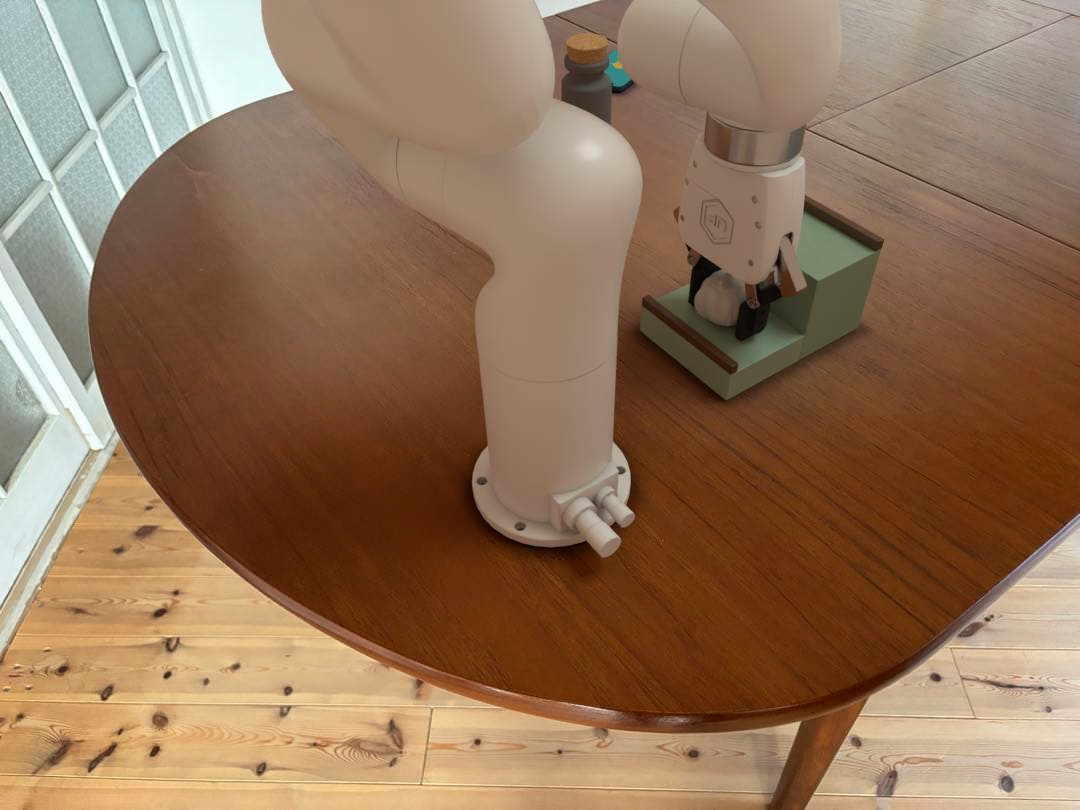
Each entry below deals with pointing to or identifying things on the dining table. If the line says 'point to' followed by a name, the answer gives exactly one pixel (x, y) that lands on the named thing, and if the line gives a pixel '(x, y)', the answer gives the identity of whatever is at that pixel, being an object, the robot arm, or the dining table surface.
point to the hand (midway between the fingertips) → (725, 314)
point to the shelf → (775, 309)
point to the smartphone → (617, 73)
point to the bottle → (588, 75)
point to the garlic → (720, 298)
